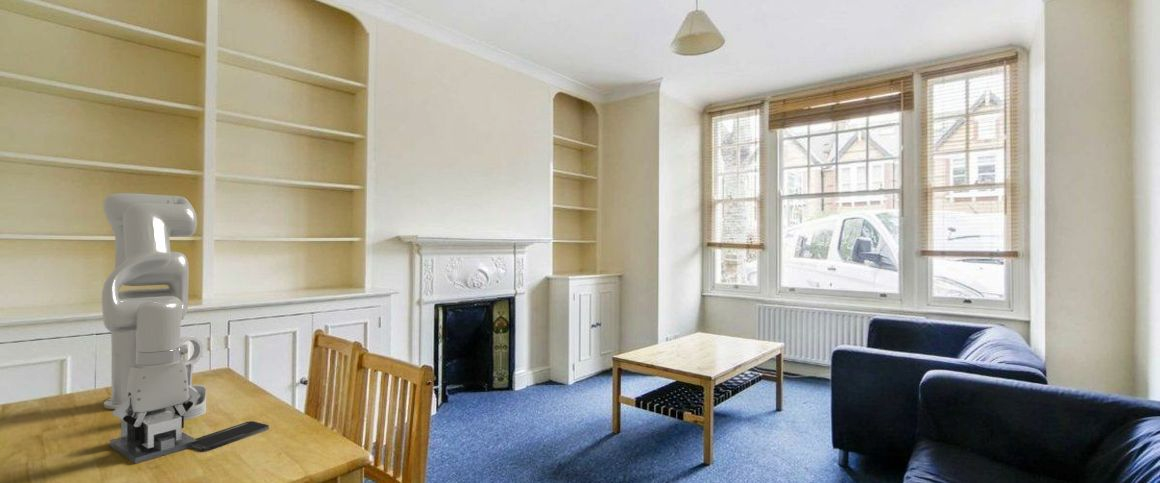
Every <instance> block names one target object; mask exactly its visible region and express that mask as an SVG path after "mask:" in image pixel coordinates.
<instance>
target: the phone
mask: <svg viewBox="0 0 1160 483" xmlns="http://www.w3.org/2000/svg"><path fill="white" fill-rule="evenodd" d="M269 429H270V426H269V424H266V423H261V422H257V421H252V420H249V421H245V422H243V423H240V424H236V425H234V426H230V427H228V428H224V429H221V430H218V431H215V432H212V433H208V434H205V435H202V436H200V437H196V438H195V439H196V440H198V443H197V444H191V448H190V449H192V450H193V449H194V450H196V451H200V452H209V451H212V450H215V449H218V448H221V447H224V446H226V445H229V444H232V443H235V442H238V441H240V440H243V439H247V438H249V437H252V436H255V435H258V434H260V433H264V432H265V431H269Z"/></svg>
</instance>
